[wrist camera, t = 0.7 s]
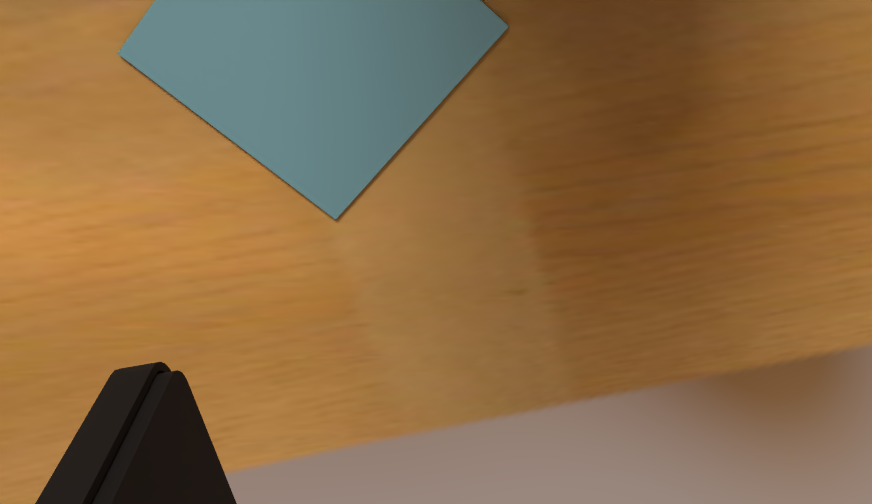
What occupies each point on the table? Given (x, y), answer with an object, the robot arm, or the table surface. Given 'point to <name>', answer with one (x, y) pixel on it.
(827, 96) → the table surface
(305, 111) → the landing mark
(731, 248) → the table surface
